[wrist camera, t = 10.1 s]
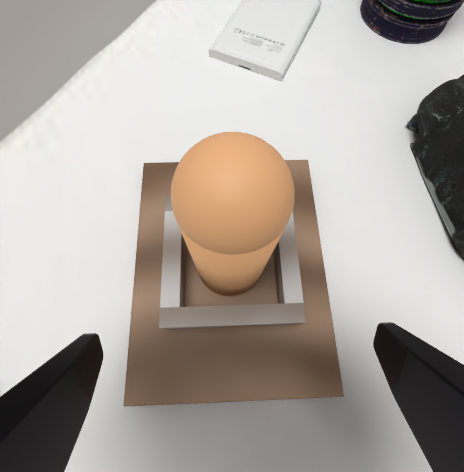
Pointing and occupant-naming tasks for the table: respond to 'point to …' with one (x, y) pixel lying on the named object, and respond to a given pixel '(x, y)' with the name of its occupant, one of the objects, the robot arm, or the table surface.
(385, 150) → the table surface
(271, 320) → the jig
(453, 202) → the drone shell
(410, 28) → the storage jar
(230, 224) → the ball
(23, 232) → the table surface
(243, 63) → the external hard drive
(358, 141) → the table surface
